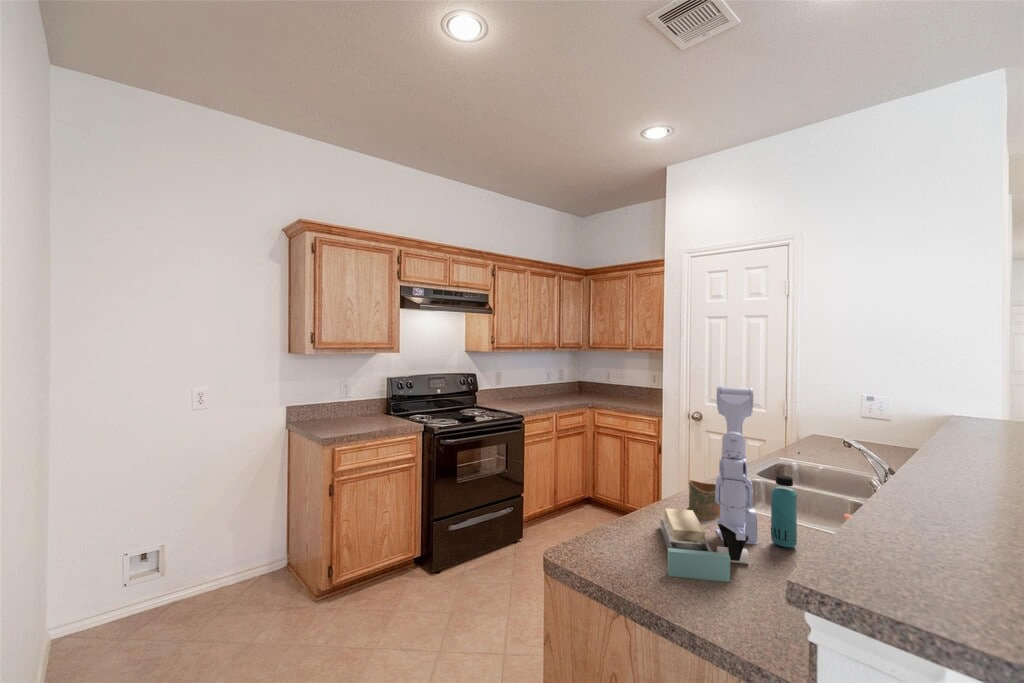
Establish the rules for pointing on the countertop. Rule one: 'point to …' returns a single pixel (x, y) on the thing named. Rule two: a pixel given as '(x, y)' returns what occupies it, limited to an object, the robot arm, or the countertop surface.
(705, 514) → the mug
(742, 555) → the roller
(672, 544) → the roller track
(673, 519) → the slab
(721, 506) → the robot arm
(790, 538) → the beverage bottle
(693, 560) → the rail
